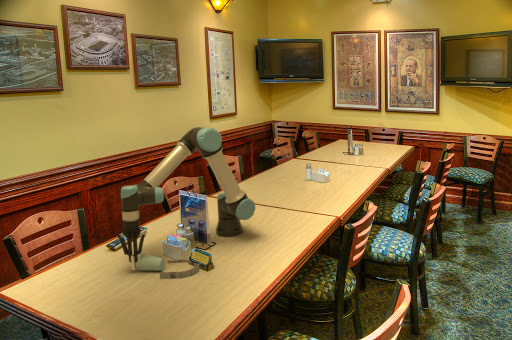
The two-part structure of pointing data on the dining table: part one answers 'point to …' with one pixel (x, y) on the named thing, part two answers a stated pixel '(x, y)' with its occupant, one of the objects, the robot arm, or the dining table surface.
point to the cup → (151, 263)
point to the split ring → (183, 273)
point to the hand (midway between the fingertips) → (133, 268)
